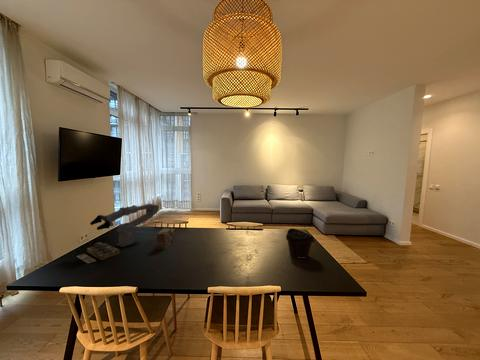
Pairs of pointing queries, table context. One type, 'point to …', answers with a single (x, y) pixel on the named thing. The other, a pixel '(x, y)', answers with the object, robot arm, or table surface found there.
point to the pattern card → (86, 258)
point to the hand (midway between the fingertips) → (93, 226)
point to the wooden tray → (102, 252)
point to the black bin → (299, 243)
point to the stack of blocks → (165, 238)
